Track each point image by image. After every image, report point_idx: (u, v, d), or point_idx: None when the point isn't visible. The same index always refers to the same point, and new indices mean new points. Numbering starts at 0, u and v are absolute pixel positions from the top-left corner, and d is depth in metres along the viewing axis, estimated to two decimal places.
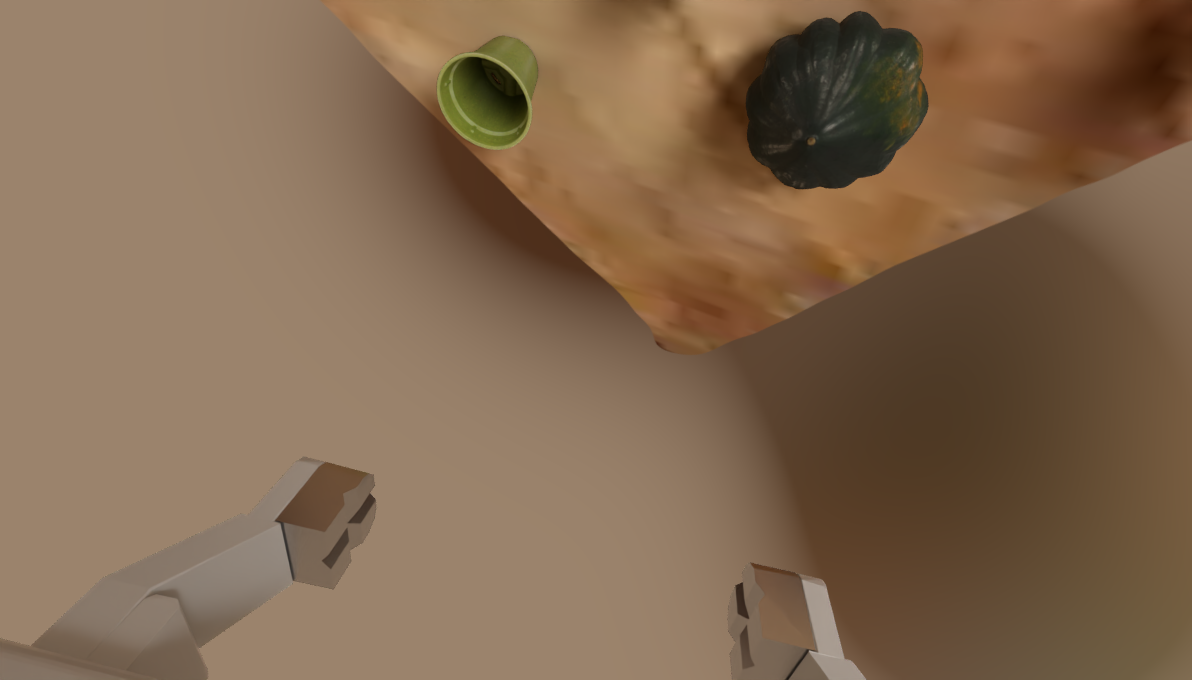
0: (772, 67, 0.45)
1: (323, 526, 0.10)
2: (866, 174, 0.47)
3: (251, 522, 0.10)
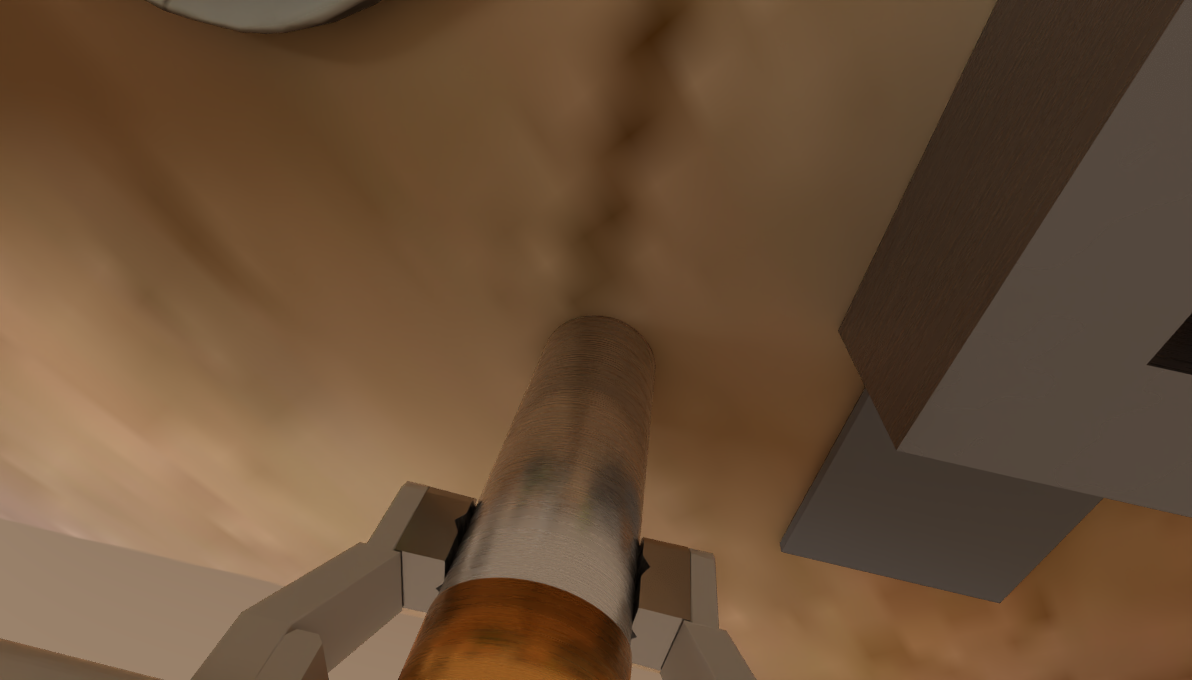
0: None
1: (442, 555, 0.10)
2: None
3: (372, 551, 0.09)
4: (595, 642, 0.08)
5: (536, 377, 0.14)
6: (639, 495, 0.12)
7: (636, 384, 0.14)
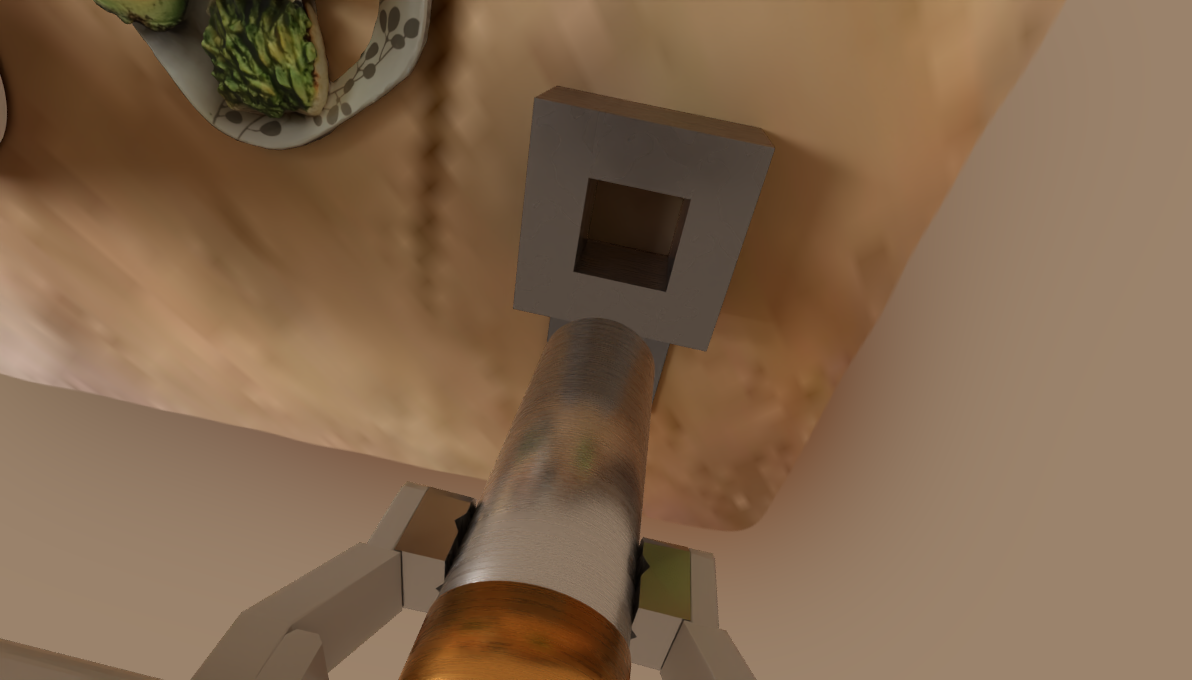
0: None
1: (442, 555, 0.10)
2: None
3: (372, 551, 0.09)
4: (594, 646, 0.08)
5: (536, 379, 0.14)
6: (638, 497, 0.12)
7: (636, 386, 0.14)
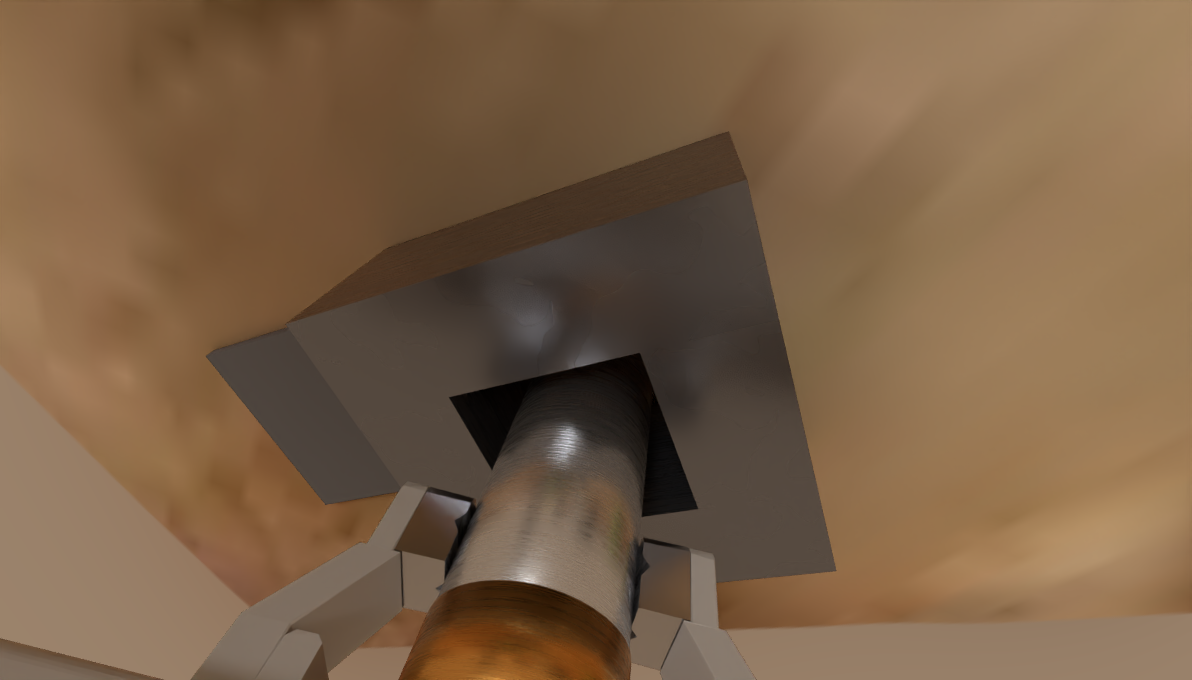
0: None
1: (442, 555, 0.10)
2: None
3: (372, 551, 0.09)
4: (594, 644, 0.08)
5: (536, 379, 0.14)
6: (639, 497, 0.12)
7: (635, 386, 0.14)
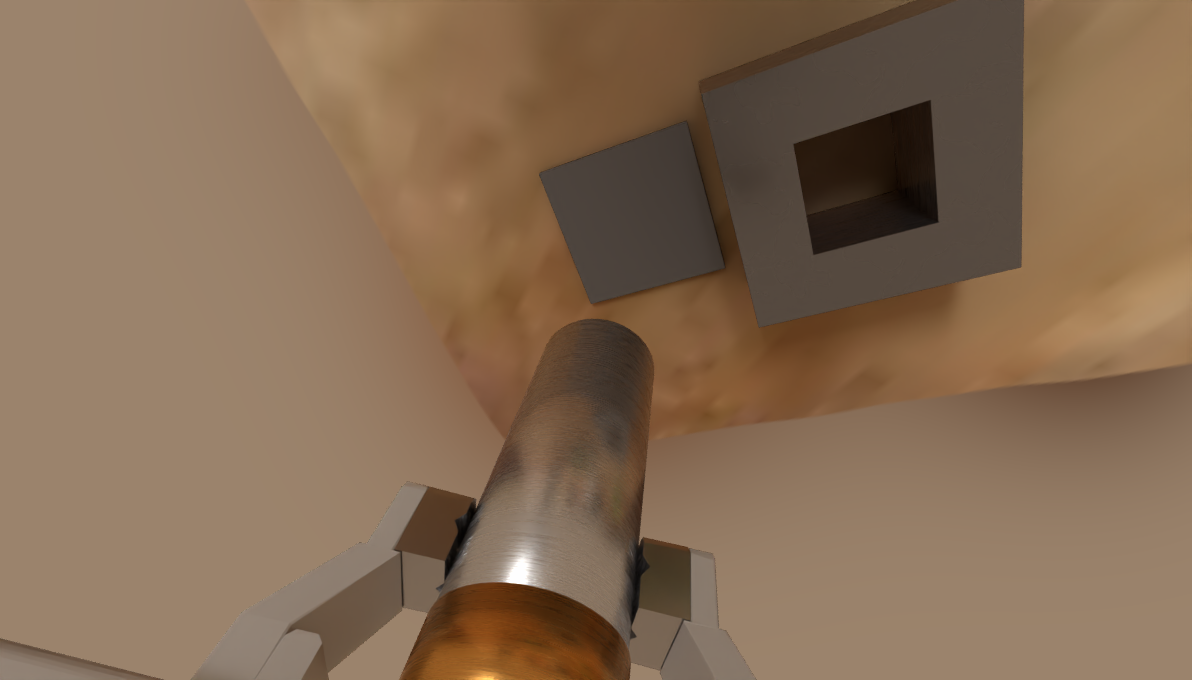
0: None
1: (442, 555, 0.10)
2: None
3: (372, 551, 0.09)
4: (594, 647, 0.08)
5: (535, 380, 0.14)
6: (638, 499, 0.12)
7: (635, 387, 0.14)
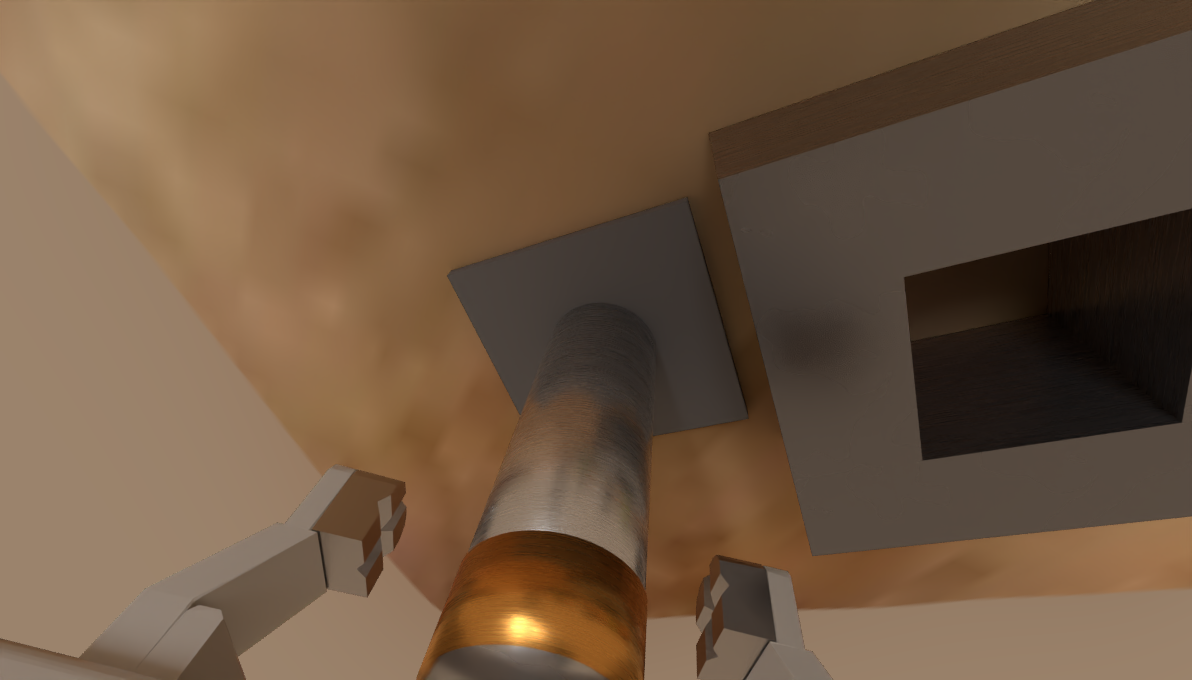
0: None
1: (359, 535, 0.10)
2: None
3: (288, 531, 0.09)
4: (616, 585, 0.09)
5: (546, 359, 0.15)
6: (648, 464, 0.13)
7: (641, 365, 0.15)
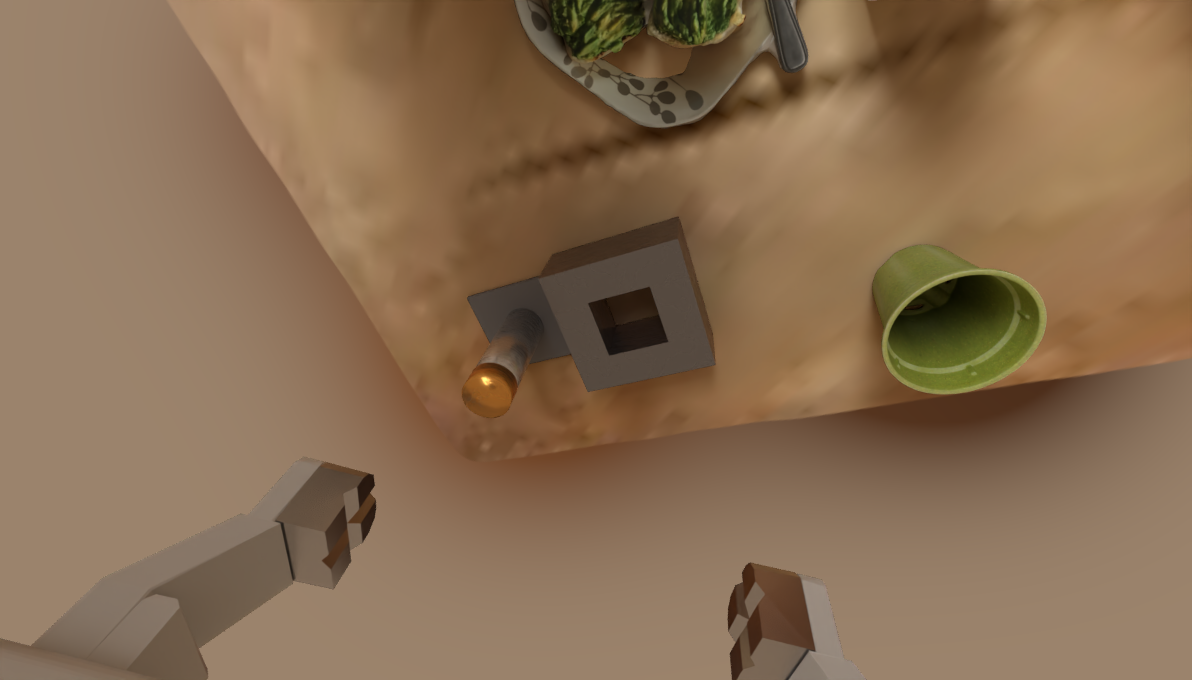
0: None
1: (323, 526, 0.10)
2: None
3: (251, 522, 0.10)
4: (507, 374, 0.40)
5: (500, 327, 0.46)
6: (526, 356, 0.44)
7: (531, 329, 0.46)
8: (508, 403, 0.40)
